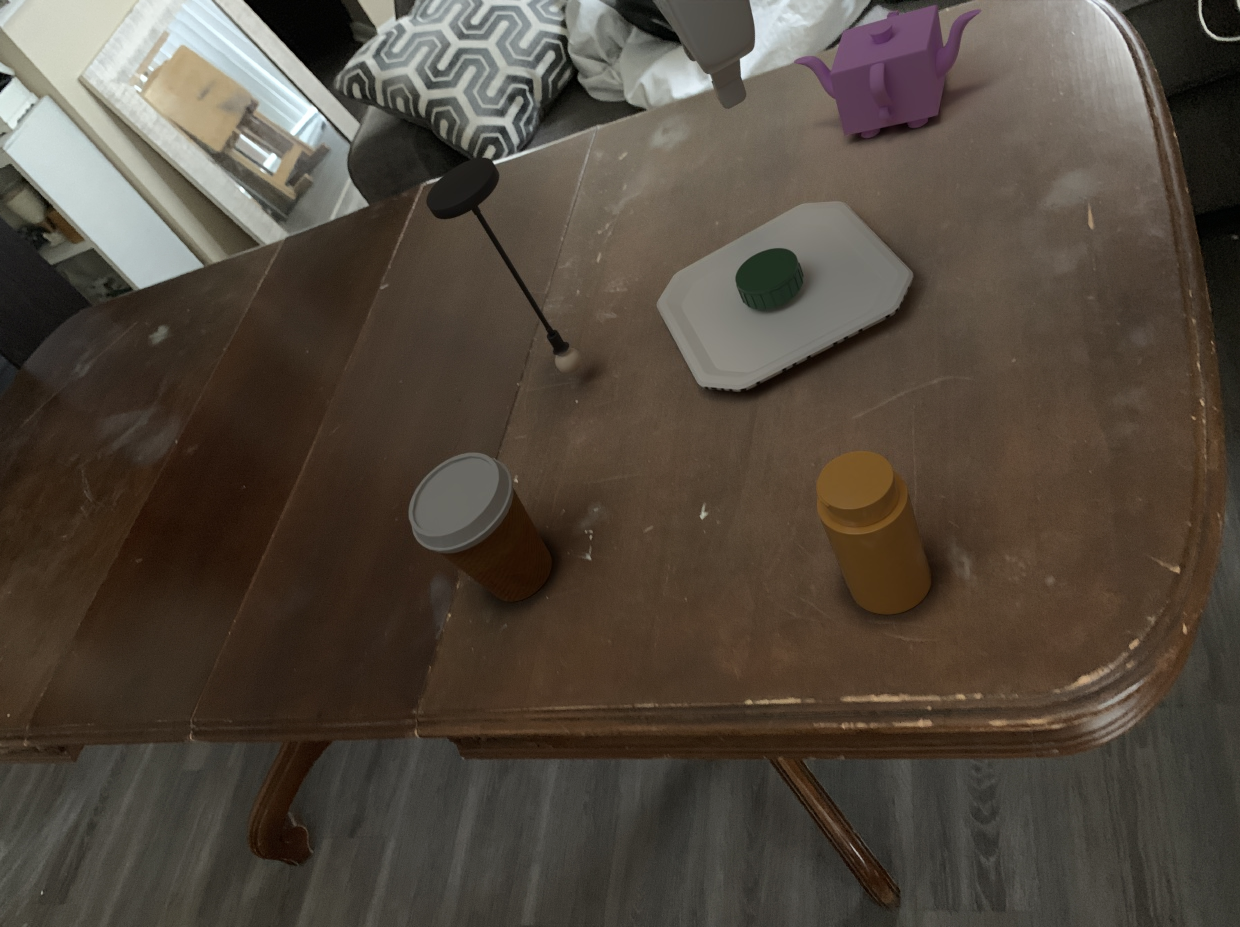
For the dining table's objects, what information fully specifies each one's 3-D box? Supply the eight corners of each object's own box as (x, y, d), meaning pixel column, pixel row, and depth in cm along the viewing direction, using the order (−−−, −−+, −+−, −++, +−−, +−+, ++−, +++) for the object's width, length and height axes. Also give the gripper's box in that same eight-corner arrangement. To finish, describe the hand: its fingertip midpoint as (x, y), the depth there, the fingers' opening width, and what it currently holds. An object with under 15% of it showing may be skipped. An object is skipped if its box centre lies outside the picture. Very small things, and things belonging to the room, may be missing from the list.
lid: (739, 316, 85) (732, 298, 83) (744, 275, 88) (737, 257, 86) (802, 302, 82) (796, 283, 80) (805, 260, 85) (799, 240, 83)
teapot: (997, 51, 94) (987, -43, 87) (985, 128, 88) (973, 33, 81) (825, 94, 104) (804, 13, 97) (803, 165, 98) (779, 84, 91)
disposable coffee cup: (486, 635, 79) (411, 561, 70) (467, 560, 85) (397, 484, 77) (580, 585, 77) (515, 503, 69) (553, 512, 84) (491, 429, 76)
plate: (935, 309, 77) (931, 289, 76) (716, 420, 81) (708, 404, 80) (835, 203, 91) (830, 185, 90) (653, 303, 96) (646, 287, 94)
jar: (894, 535, 66) (861, 430, 58) (949, 581, 62) (922, 475, 54) (832, 580, 66) (791, 482, 58) (884, 629, 62) (847, 531, 54)
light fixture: (545, 384, 96) (418, 192, 79) (597, 349, 95) (481, 148, 78) (565, 417, 91) (436, 220, 74) (621, 381, 91) (503, 173, 73)
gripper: (577, -126, 66) (647, 51, 75) (635, -51, 51) (712, 155, 61) (656, -177, 64) (716, 10, 74) (738, -114, 50) (800, 108, 59)
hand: (715, 77), depth 67 cm, fingers open, 8 cm apart
